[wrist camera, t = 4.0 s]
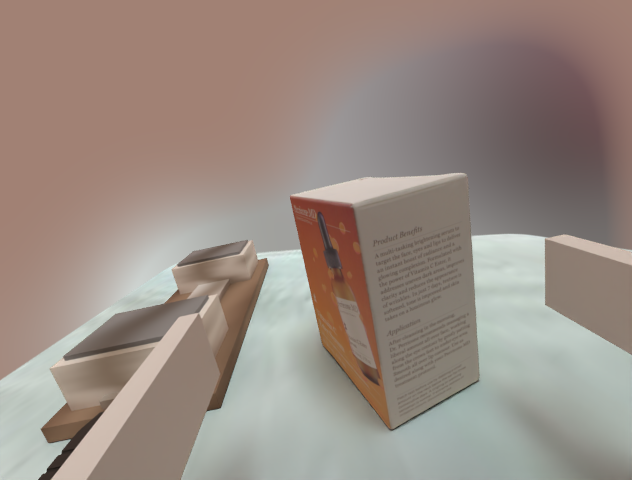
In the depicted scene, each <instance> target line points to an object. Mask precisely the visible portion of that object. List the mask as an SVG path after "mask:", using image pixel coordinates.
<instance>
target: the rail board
mask: <svg viewBox="0 0 632 480" xmlns="http://www.w3.org/2000/svg"><path fill="white" fill-rule="evenodd" d="M268 266H269V264H268V261H267V258H265V259H261V260H258V259H257V255H256V251H255V248H254V244H253V241H248V240H245V241H240V242H236V243H231V244H226V245H221V246H217V247H212V248H207V249H203V250H198V251H193V252H192V253H191V254H189V255H188V256H187V257H186V258H185V259H183V260H182V261H181V262H180V263H178V264H177V266H175V267H174V268H173V269H172V273H173V275H174V278H175V281H176V284H177V287H178V290H177V291H176V292H175V293H174V294H173V295H172V296H171V297H170V298H169V299H168V300H167V301H166V302H165V303H164V304H161V305H156V306H152V307H147V308H142V309H137V310H133V311H128V312H123V313H118V314H115V315H114V316H113V317H111V318H110V319H109V320H108V321H107V322H105V323H104V324H103V325H102V326H100V327H99V328H98V329H97V330H95V331H94V332H93V333H92V334H90V335H89V336H88V337H87V338H86V339H84V340H83V341H82V342H81V343H79V344H78V345H77V346H76V347H74V348H73V349H72V350H71V351H69V352H68V353H67V354H66V355H64V356H63V358H62V359H61V360H60V361H58V362H57V363H56V364H55V365H53V366H52V367H51V368H50V370H51V372H52V374H53V376H54V378H55V380H56V382H57V384H58V386H59V388H60V390H61V392H62V393H63V395H64V397H65V399H66V401H67V403H66V404H65V405H64V406H63V407H62V408H61V409H60V410H59V411H58V412H57V413H56V414H55V415H54V416H53V417H52V418H51V419H50V420H49V421H48V422H47V423H46V424H45V425H44V426H43V427H42V428H41V431H42V432H43V434H44V436H45V438H46V439H47V441H48V443H51V442H56V441H61V440H65V439H70V438H73V437H74V436H75V435H76V433H77V432H78V431H79V430H80V429H81V428H82V427H84V426H85V425H86V424H87V423H88V422H89V421H91V420H92V419H93V418H94V417H95V416H96V415H98V414H99V413H100V412H104V411H105V410H106V409H107V408H108V406H109V405H110V404H111V403H112V401H113V400H114V399H115V398H116V396H117V395H118V394H119V393H120V391H121V390H122V389H123V387H124V386H125V385H126V384H127V382H128V381H129V380H130V379H131V377H132V376H133V375H134V373H135V372H136V371H137V370H138V368H139V367H140V366H141V365H142V363H143V362H144V361H145V359H146V358H147V357H148V356H149V354H150V353H151V352H152V351H153V349H154V348H155V347H156V346H157V344H158V343H159V342H160V340H161V339H162V338H163V337H164V335H165V334H166V333H167V332H168V330H169V329H170V328H171V326H172V325H173V324H174V323H175V321H176V320H177V319H178V318H179V317H181V316H186V315H190V314H195V313H199V314H200V316H201V319H202V322H203V325H204V328H205V331H206V334H207V337H208V340H209V343H210V346H211V349H212V351H213V354H214V357H215V360H216V363H217V366H218V369H219V372H220V376H219V379H218V382H217V384H216V387H215V390H214V392H213V395H212V398H211V400H210V403H209V406H208V408H207V410H212V409H217V408H221V405H222V402H223V399H224V396H225V393H226V390H227V387H228V384H229V381H230V378H231V375H232V372H233V369H234V366H235V363H236V360H237V357H238V354H239V351H240V349H241V346H242V343H243V340H244V337H245V334H246V331H247V328H248V325H249V322H250V319H251V316H252V313H253V310H254V307H255V304H256V301H257V298H258V295H259V292H260V289H261V286H262V283H263V280H264V277H265V274H266V272H267V269H268Z"/></svg>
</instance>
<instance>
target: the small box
mask: <svg viewBox="0 0 632 480" xmlns="http://www.w3.org/2000/svg"><path fill="white" fill-rule="evenodd" d="M290 200H291V204H292V208H293V213H294V217H295V222H296V227H297V231H298V235H299V240H300V245H301V250H302V254H303V259H304V263H305V268H306V273H307V277H308V282H309V286H310V291H311V296H312V300H313V305H314V309H315V314H316V319H317V323H318V327H319V331H320V336H321V341H322V344H323V346H324V347H325V348H326V349H327V350H328V351H329V352H330V353H331V355H332V356H333V357H334V358H335V359H336V361H337V362H338V363H339V364H340V366H341V367H342V368H343V369H344V371H345V372H346V373H347V375H348V376H349V377H350V379H351V380H352V381H353V382H354V384H355V385H356V386H357V388H358V389H359V390H360V391H361V393H362V394H363V395H364V397H365V398H366V399H367V400H368V402H369V403H370V404H371V406H372V407H373V408H374V409H375V411H376V412H377V413H378V415H379V416H380V417H381V419H382V420H383V421H384V423H385V424H386V425H387V426H388V428H389V429H394V428H396V427H397V426H399V425H401V424H402V423H404V422H406V421H407V420H409V419H411V418H413V417H414V416H416V415H418V414H420V413H421V412H423V411H425V410H427V409H428V408H430V407H432V406H434V405H435V404H437V403H439V402H440V401H442V400H444V399H446V398H447V397H449V396H451V395H453V394H454V393H456V392H458V391H460V390H461V389H463V388H465V387H467V386H469V385H470V384H472V383H474V382H476V381H477V380H478V379H479V378H480V375H479V359H478V344H477V325H476V308H475V290H474V273H473V255H472V241H471V223H470V209H469V191H468V177H467V175H466V174H465V173H452V174H445V175H434V176H416V177H393V178H392V177H391V178H375V177H366V178H361V179H357V180H353V181H348V182H344V183H340V184H335V185H331V186H327V187H323V188H319V189H315V190H310V191H306V192H302V193H298V194H294V195H291V196H290Z"/></svg>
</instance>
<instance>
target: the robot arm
mask: <svg viewBox="0 0 632 480" xmlns="http://www.w3.org/2000/svg"><path fill="white" fill-rule="evenodd" d="M545 305H547V306H548V307H550V308H552V309H553V310H555V311H557V312H559V313H560V314H562V315H564V316H566V317H567V318H569V319H571V320H573V321H574V322H576V323H578V324H579V325H581V326H583V327H585V328H586V329H588V330H590V331H592V332H593V333H595V334H597V335H599V336H600V337H602V338H604V339H606V340H607V341H609V342H611V343H612V344H614V345H616V346H618V347H619V348H621V349H623V350H625V351H626V352H628V353H630V354H632V252H629V251H625V250H622V249H618V248H614V247H610V246H607V245H603V244H599V243H595V242H592V241H588V240H584V239H580V238H577V237H573V236H569V235H560V236H556V237H551V238H546V239H545ZM219 376H220V372H219V369H218V366H217V363H216V360H215V357H214V354H213V351H212V349H211V346H210V343H209V340H208V337H207V334H206V331H205V328H204V325H203V322H202V319H201V316H200V314H199V313H195V314H190V315H186V316H181V317H179V318H178V319H177V320H176V321H175V323H174V324H173V325H172V326H171V328H170V329H169V330H168V332H167V333H166V334H165V335H164V337H163V338H162V339H161V340H160V342H159V343H158V344H157V346H156V347H155V348H154V349H153V351H152V352H151V353H150V354H149V356H148V357H147V358H146V359H145V361H144V362H143V363H142V365H141V366H140V367H139V368H138V370H137V371H136V372H135V373H134V375H133V376H132V377H131V379H130V380H129V381H128V382H127V384H126V385H125V386H124V387H123V389H122V390H121V391H120V393H119V394H118V395H117V396H116V398H115V399H114V400H113V401H112V403H111V404H110V405H109V406H108V408H107V409H106V410H105V411H104V412H100V413H99V414H98V415H96V416H95V417H94V418H93V419H92V420H91V421H89V422H88V423H87V424H86V425H85V426H84V427H82V428H81V429H80V430H79V431H78V432H77V433H76V435H75V436H74V437H73V438H72V439H71V441H70V442H69V443H68V444H67V445H66V447H65V448H64V449H63V450H62V454H61V455H58V456H57V457H56V459H55V460H54V461H53V462H52V464H51V465H50V466H49V467H48V468H47V472H46V473H45V474H42V476H41V477H40V478H39V479H38V480H181V477H182V474H183V472H184V469H185V466H186V464H187V461H188V458H189V456H190V453H191V451H192V448H193V445H194V443H195V440H196V437H197V435H198V432H199V429H200V427H201V424H202V421H203V419H204V416H205V413H206V411H207V408H208V406H209V403H210V400H211V398H212V395H213V392H214V390H215V387H216V384H217V382H218V379H219Z"/></svg>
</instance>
